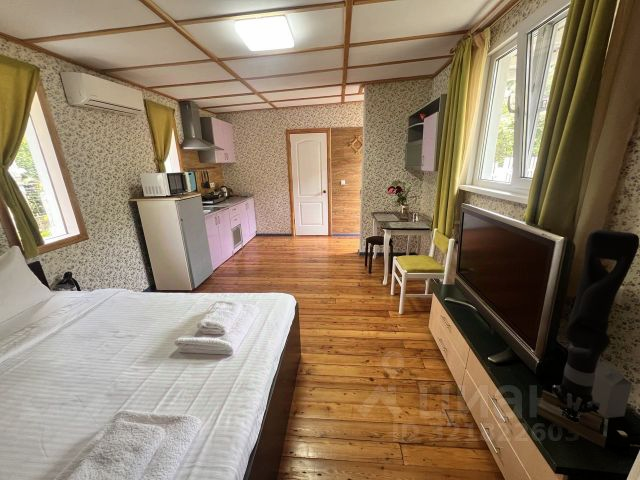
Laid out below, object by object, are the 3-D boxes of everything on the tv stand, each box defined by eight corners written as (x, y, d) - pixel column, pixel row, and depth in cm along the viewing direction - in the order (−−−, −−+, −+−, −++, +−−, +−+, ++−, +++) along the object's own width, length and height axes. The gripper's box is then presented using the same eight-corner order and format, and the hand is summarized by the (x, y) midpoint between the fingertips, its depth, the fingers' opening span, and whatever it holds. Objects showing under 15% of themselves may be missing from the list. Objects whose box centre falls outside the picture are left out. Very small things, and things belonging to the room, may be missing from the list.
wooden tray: (542, 397, 107) (543, 390, 106) (606, 427, 94) (608, 418, 93) (536, 413, 101) (537, 405, 100) (604, 447, 87) (606, 438, 86)
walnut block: (580, 418, 96) (581, 409, 95) (599, 427, 92) (601, 419, 91) (577, 427, 93) (579, 418, 92) (597, 437, 89) (599, 428, 88)
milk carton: (603, 400, 103) (612, 360, 98) (624, 416, 96) (634, 374, 92) (585, 402, 103) (593, 362, 98) (605, 418, 96) (614, 376, 92)
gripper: (607, 381, 89) (598, 420, 93) (556, 362, 99) (550, 398, 103) (605, 394, 85) (595, 435, 89) (551, 372, 95) (545, 410, 99)
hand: (571, 415), depth 96 cm, fingers closed
